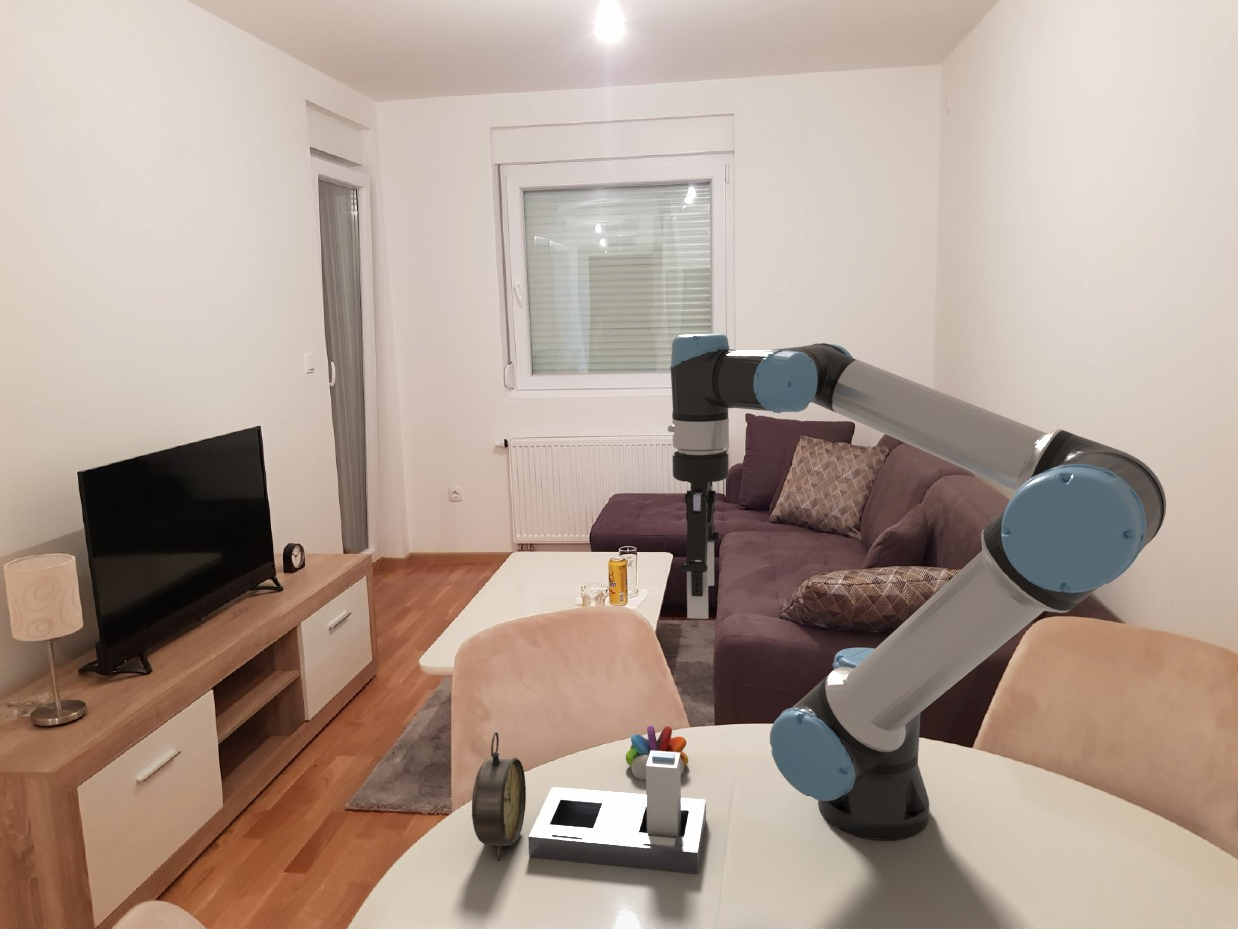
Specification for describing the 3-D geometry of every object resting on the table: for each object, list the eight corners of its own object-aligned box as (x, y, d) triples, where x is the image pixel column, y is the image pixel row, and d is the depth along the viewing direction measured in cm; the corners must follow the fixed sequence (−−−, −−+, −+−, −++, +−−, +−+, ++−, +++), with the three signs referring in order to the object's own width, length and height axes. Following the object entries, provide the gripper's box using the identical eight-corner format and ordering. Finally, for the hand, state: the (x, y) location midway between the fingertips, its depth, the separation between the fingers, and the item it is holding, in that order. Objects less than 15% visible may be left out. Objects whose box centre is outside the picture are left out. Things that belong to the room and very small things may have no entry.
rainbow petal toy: (690, 784, 133) (690, 740, 132) (626, 786, 133) (625, 741, 132) (686, 755, 142) (685, 713, 140) (625, 757, 142) (624, 715, 140)
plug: (681, 834, 120) (680, 748, 117) (677, 852, 116) (676, 764, 114) (651, 831, 121) (650, 746, 118) (647, 849, 117) (645, 761, 114)
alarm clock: (508, 871, 114) (502, 755, 111) (467, 868, 115) (461, 752, 112) (529, 822, 124) (525, 714, 121) (492, 819, 125) (487, 712, 122)
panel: (706, 823, 123) (706, 798, 122) (697, 878, 112) (697, 851, 111) (553, 809, 127) (552, 785, 127) (529, 861, 116) (528, 835, 115)
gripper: (681, 435, 132) (682, 572, 136) (662, 466, 108) (664, 632, 111) (731, 435, 131) (732, 573, 134) (724, 467, 106) (724, 634, 110)
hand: (701, 600), depth 123 cm, fingers open, 13 cm apart
